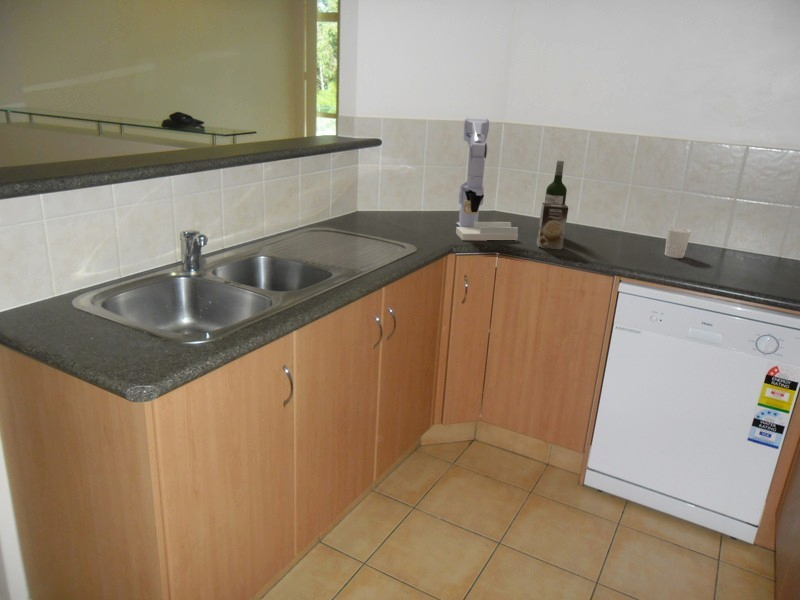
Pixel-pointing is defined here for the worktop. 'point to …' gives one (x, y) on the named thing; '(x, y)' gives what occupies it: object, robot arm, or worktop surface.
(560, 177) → the wine bottle
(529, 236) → the worktop surface
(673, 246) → the white cup
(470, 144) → the robot arm
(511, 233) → the white tray
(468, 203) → the block
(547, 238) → the coffee box
